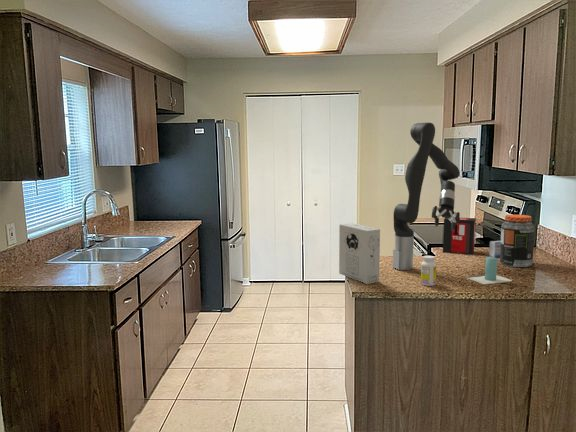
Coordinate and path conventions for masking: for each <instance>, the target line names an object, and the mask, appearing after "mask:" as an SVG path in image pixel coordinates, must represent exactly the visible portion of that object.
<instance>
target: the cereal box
mask: <svg viewBox="0 0 576 432" xmlns="http://www.w3.org/2000/svg"><path fill="white" fill-rule="evenodd" d="M338 226H339V238H338V239H339V241H338V243H339V247H338V248H339V249H338V251H339V253H338V256H339V258H338V260H339V261H338V267H339V269H338V274H339V275H342V276H345V277H347V278H350V279H353V280H355V279H356V280H355V281H357V280H358V281H357V282H360V281H361V282H360V283H362V282H363V284H365V285H369V284H375V282H376V283H379V282H380V261H381V259H380V258H381V257H380V253H381V252H380V251H381V249H380V248H381V229H379V228H376V227H371V226H367V225H362V224H358V223H354V222H348V223H340V224H339V225H338Z"/></svg>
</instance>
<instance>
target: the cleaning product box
mask: <svg viewBox="0 0 576 432" xmlns="http://www.w3.org/2000/svg"><path fill="white" fill-rule="evenodd" d="M454 219H455V216H454ZM476 219H477V218H476V217H475V218H473V217H460V222H459V223H458V224H456V225H455V229H454V230H453V231H452V230H451V224H452V223H451V221H449V219H447V218H444V219H443V235H442V237H443V238H442V239H443V240H442V253H447V254H456V255H468V256H474V255H473V254H474V253H475V243H476V242H475V240H476V221H477V220H476Z"/></svg>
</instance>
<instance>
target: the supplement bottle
mask: <svg viewBox="0 0 576 432" xmlns="http://www.w3.org/2000/svg"><path fill="white" fill-rule="evenodd" d="M420 284H421V285H422V286H427V287H428V286H432V287H434V286H435V285H437V263H436V262H435V256H433V255H424V256H423V261H422V262H421V265H420Z"/></svg>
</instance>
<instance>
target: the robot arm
mask: <svg viewBox="0 0 576 432" xmlns="http://www.w3.org/2000/svg"><path fill="white" fill-rule="evenodd" d="M435 134H436V127H435V125H434V123H432V122H417V123H414V124H413V125H411V127H410V137H411V138H412V140H413V141H414V142H415V143H416V144H417V145H418V149H417V151H416V152H415V154H414V155H413V156H412V157H411V159H410V160H409V162H408V163H407V166H406V171H405V174H404V175H405V177H404V180H405V184H406V187H407V190H408V191H407V192H408V199H407V204H406V203H398V204H397V205H396V206H395V207H394V209H393V230H394V233H395V234H394V249H393V250H392V268H393V267H394V268H393V269H395V268H396V269H395V270H397V269H398V271H411V269H412V270H413V268H414V235H415V231H414V230H413V229H412V228H411V227H410V226H409V225H408V224H414V223H415V222H416V221H417V219H418V215H419V210H420V203H421V199H420V198H421V194H422V193H421V192H422V188H423V183H424V179H425V175H426V170H427V164H428V160H429V158H430V159H431V161H432V162H433V164H434V165H435V167H436V168H437V169H438V179H439V181H440V194H439V200H438V201H439V203H438V206H437V205H434V207H432V211H431V218H433V219H434V225H435V227H438V226H439V224H440V218H444V219H445V218H447V219H449V221H451V223H452V224H451V230H452V231H453V230H454V229H455V225H456V224H458V223H459V222H460V218H461V217H460V216H461V214H460V212H459V211H457V212H456V211H455V210H454V209H455V199H456V196H455V191H456V183H455V182H453V181H452V180H457V179H458V178H459V176H460V174H461V173H460V169H459V168H458V166H457V165H456V164H454V162H453V161H451V160H450V159H449V158H448V157H447V156H446V154H445V152H444V151H443V150H442V149H441V148H440V147H438V145H435V144H434V139H435V136H436V135H435ZM437 212H438V214H437ZM454 217H455V219H454Z"/></svg>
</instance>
